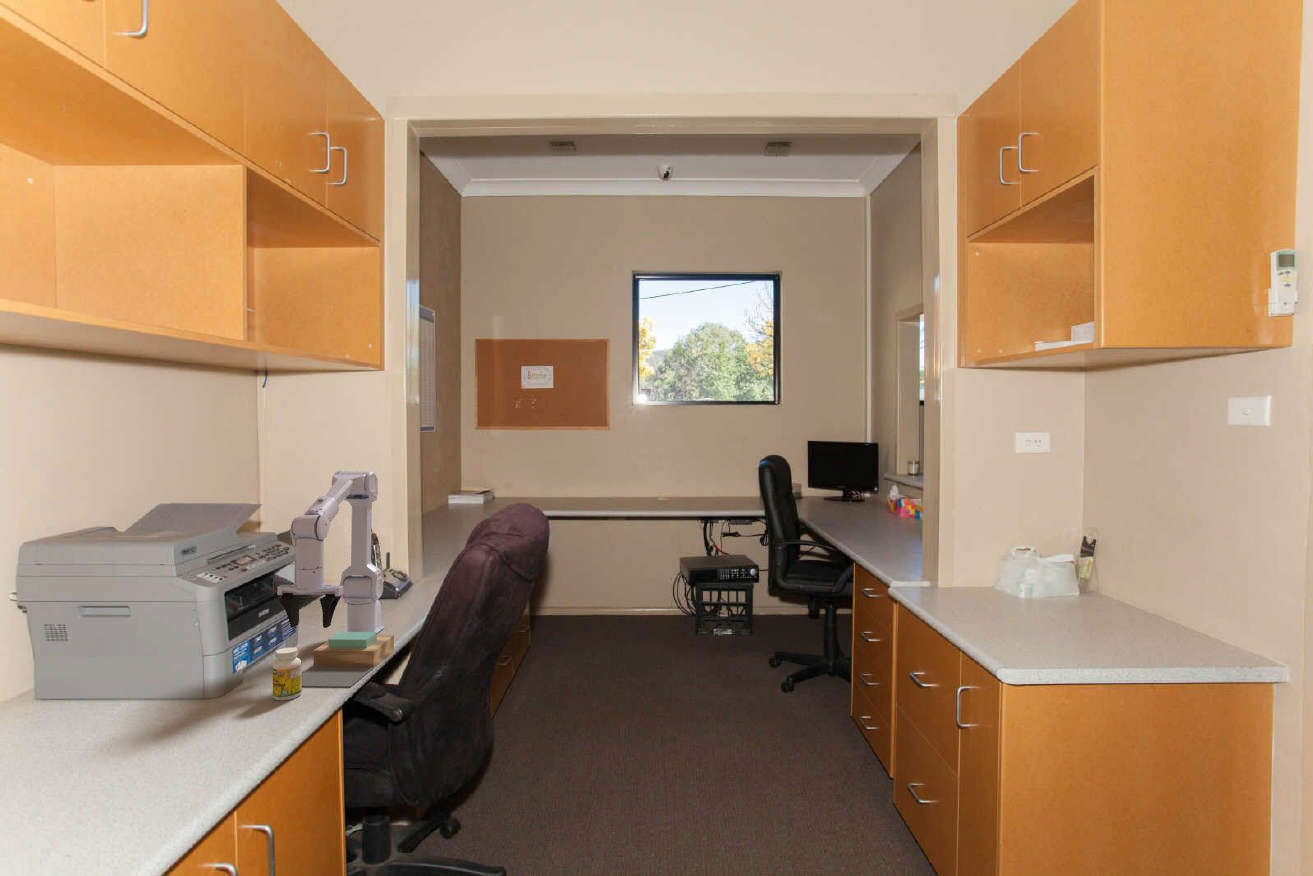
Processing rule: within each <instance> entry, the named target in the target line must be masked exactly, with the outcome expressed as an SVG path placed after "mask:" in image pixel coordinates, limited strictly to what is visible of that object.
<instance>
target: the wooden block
mask: <svg viewBox="0 0 1313 876" xmlns="http://www.w3.org/2000/svg"><path fill="white" fill-rule="evenodd" d="M394 637H395V636H394V635H387V634H386V635H379V634H377V641H376V642H374V643H373V644H372V645H370V646H369V647H368V648H328V640H327V641H326V642H325V643H323V644H321V645H320V646H318V647H317V648H315V649H314V650H313V666H323V667H374V669H375V668H377V666H378V665H379V664H381V663H382V662H383V661H385V660H386V659H387V658H388V657H390V655H392V654H393V653H394V652H395V651H394V650H395V648H394V647H395V645H394V643H395V641H394V640H395V639H394Z"/></svg>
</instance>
